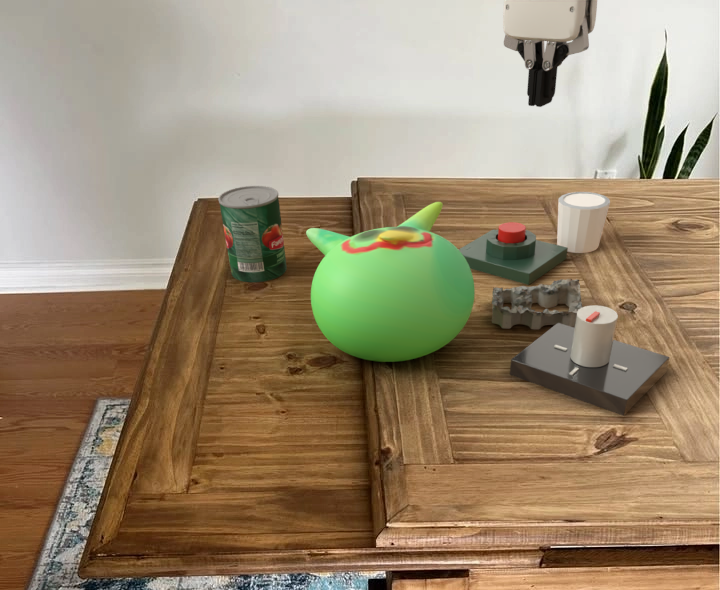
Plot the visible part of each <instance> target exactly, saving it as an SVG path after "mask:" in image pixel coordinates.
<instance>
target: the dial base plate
mask: <svg viewBox="0 0 720 590" xmlns="http://www.w3.org/2000/svg"><path fill="white" fill-rule="evenodd" d="M574 328H575V326H573V327H570V326H567V325H564V324H561V323H557V324H556V325H552V327H550V328H549V329H548V330H547V331H545V332H544V333H543V334H541V335H540V336H538V338H536V339H535V340H534V341H532V342H531V343H530V344H529V345H528V346H526V347H525V348H524V349H522V350H521V351H520V352H519V353H517V354H516V355H515V356H513V357H512V358H511V359H510V368H509V375H510V376H513V377H516V378H518V379H520V380H524V381H526V382H529V383H531V384H534V385H538V386H540V387H543V388H545V389H548V390H551V391H554V392H557V393H559V394H562V395H565V396H567V397H571V398H573V399H576V400H579V401H581V402H584V403H587V404H590V405H592V406H595V407H597V408H601V409H603V410H606V411H609V412H612V413H614V414H617V415H620V416H624V417H625V415H627V413H628V412H629V411H630V410H631V409H632V408H633V407H634V406H635V405H636V404H637V403H638V402H639V401H640V400H641V399H642V398H643V397H644V396H645V394H647V392H649V391H650V390H651V388H652V387H653V386H654V385H655V384H656V383H657V382H658V381H659V380H660V379H661V378H662V377H663V376H664V375H665V374H666V373H667V369H668V366H669V362H670V356H668V355H664V354H661V353H659V352H654V351H652V350H648V349H646V348H642V347H638V346H635V345H631V344H629V343H625V342H622V341H619V340H615V339H614V340H613V345H612V350H611V356H610V360H609V362H608V363H607V364H606V365H604V366H601V367H584V366H581V365H578V364H576V363H575V362H573V361H572V359H571V357H570V354H571V348H572V341H573V335H574Z"/></svg>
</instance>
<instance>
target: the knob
mask: <svg viewBox="0 0 720 590" xmlns="http://www.w3.org/2000/svg"><path fill="white" fill-rule="evenodd" d="M618 319H619V315H618V312H617V311H615V310H614V309H613V308H611V307H608V306H605V305H598V304H597V305H592V304H591V305H586V306H582V308H580V309H579V310H578V311H577V315H576V322H575V326H574V335H573V341H572V348H571V354H570V357H571V359H572V361H573V362H575V363H576V364H578V365H581V366H584V367H601V366H604V365H606V364H607V363H608V362H609V360H610V356H611V350H612V345H613V340H615V336H616V335H615V334H616V329H617V325H618V324H617V323H618Z"/></svg>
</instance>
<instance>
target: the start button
mask: <svg viewBox="0 0 720 590" xmlns="http://www.w3.org/2000/svg"><path fill="white" fill-rule="evenodd" d="M497 230H498V241H500V242H504V243H519V242H523V241H525V233H526V230H527V227H526V225H525V224H523V223H520V222H515V221H514V222H513V221H512V222H511V221H510V222H509V221H507V222H504V223H501V224H499V225H498V229H497Z"/></svg>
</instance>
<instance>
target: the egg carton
mask: <svg viewBox="0 0 720 590" xmlns="http://www.w3.org/2000/svg"><path fill="white" fill-rule="evenodd" d="M491 294H492V300H491V304H492V314H491V323H492V324H496V325H498V326H500V327H501V329H511V328H512V327H513V326H515V325H524V326H527V327H529V328H530V330H541V328H542V327H544V326H554V325H556V324H557V323H561V324H564V325H567V326H570V327H575V322H576V315H577V311H578V310H579V309H580V308H582V307H583V301H582V295H581V283H580V279H578V278H577V279H572V278H566V279H563V278H561V279H557V280H553V282H552V283H551V284H543V283H539V284H538V285H534V286H525V285H521V286H514V287H511V288H503V287H494V286H493V288H492V293H491ZM505 303H509V304H511V308H510V307H509V306H504V304H505ZM533 304H538V305H539V306H540V307H543V308H545V309H543V310H542V311H536V310H535V309H532V305H533ZM558 305H566V306H567V307H568V311H559V310H558V309H553V310H549V308H555V307H557V306H558Z"/></svg>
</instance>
